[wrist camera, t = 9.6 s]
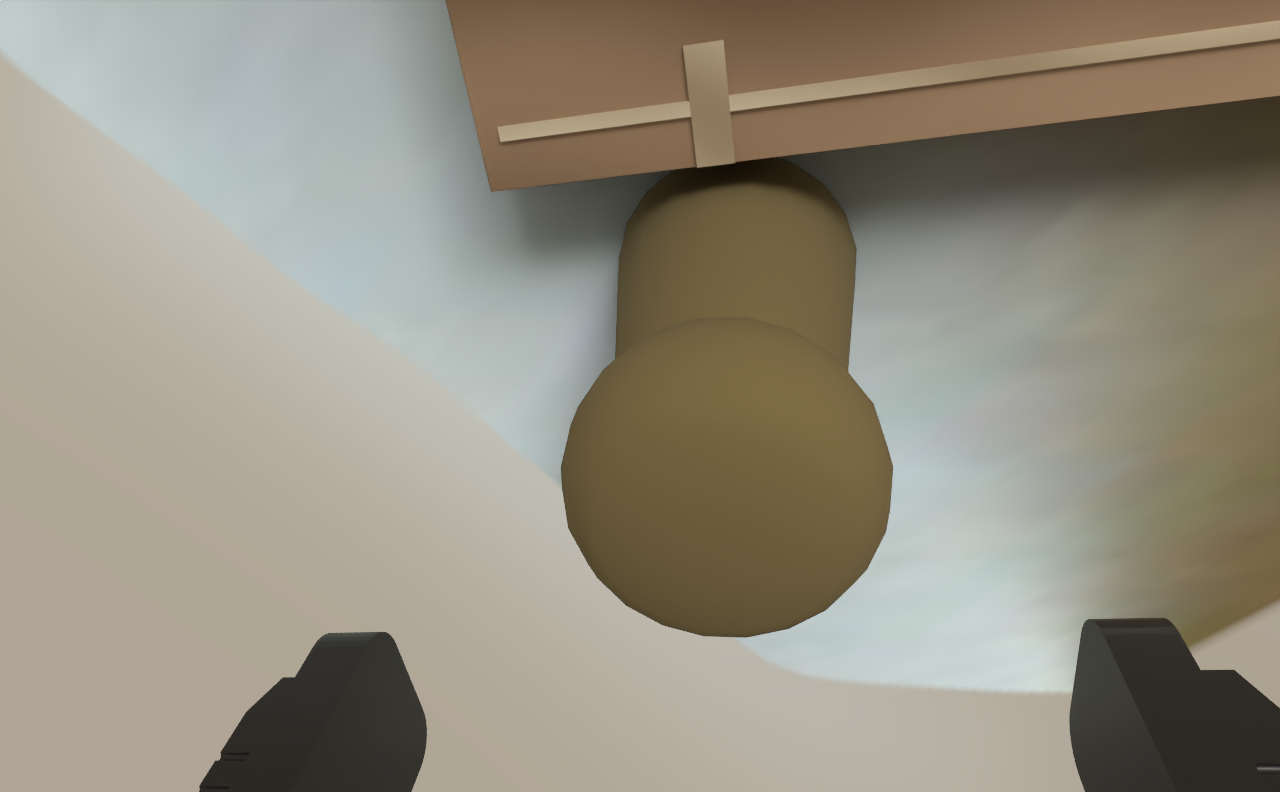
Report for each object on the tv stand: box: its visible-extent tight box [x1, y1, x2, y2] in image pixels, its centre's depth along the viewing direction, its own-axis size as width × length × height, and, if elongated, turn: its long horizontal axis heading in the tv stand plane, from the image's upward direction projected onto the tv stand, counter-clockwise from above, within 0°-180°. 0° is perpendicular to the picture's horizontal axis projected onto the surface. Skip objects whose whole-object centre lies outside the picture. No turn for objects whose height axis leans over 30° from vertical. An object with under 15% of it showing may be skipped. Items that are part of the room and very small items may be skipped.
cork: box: [561, 157, 893, 637], centre depth 17 cm, size 6×6×11 cm
